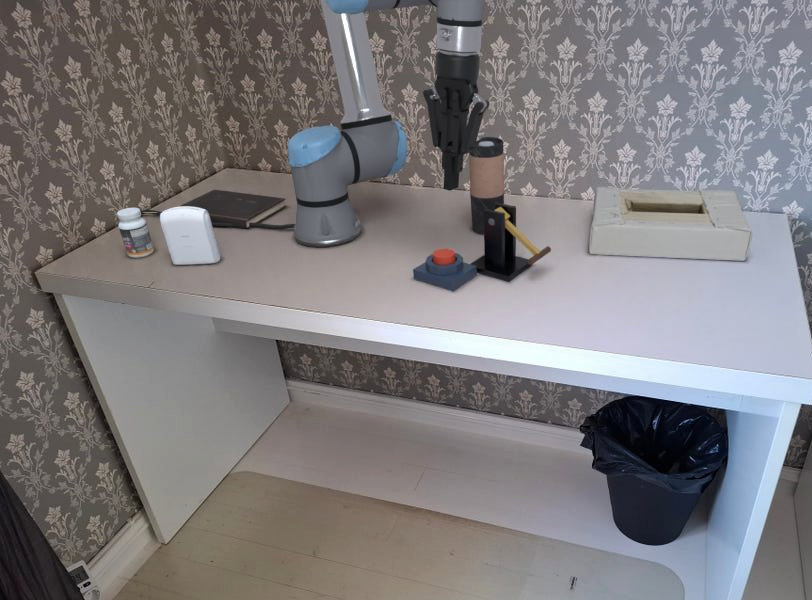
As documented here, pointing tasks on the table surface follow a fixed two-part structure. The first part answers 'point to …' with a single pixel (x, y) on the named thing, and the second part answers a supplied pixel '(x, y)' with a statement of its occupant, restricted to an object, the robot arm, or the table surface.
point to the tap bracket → (500, 246)
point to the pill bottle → (134, 233)
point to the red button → (444, 256)
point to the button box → (445, 273)
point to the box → (669, 224)
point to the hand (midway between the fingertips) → (450, 188)
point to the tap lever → (524, 239)
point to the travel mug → (486, 179)
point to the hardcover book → (237, 207)
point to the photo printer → (189, 235)
